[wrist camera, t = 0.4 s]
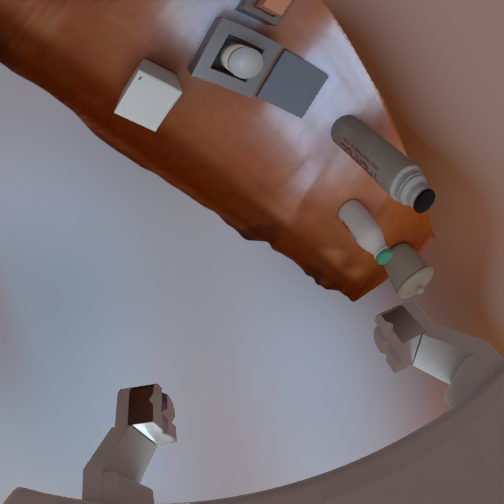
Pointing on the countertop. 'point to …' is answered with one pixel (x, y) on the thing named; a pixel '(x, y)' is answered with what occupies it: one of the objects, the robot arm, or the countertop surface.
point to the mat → (292, 84)
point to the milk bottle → (365, 230)
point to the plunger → (272, 6)
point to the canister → (407, 271)
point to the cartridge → (240, 60)
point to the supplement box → (149, 95)
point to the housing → (212, 47)
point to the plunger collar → (259, 12)
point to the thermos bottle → (383, 163)
